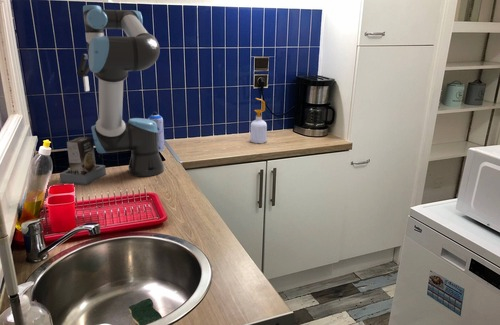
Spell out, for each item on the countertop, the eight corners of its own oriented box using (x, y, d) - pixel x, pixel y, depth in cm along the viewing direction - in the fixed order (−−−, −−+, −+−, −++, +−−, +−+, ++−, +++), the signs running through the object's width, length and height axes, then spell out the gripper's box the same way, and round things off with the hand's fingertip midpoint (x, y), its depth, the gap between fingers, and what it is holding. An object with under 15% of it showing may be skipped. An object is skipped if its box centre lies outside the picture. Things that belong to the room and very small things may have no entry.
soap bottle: (248, 140, 235) (248, 97, 227) (263, 139, 238) (264, 96, 230) (253, 144, 227) (253, 99, 219) (268, 142, 229) (269, 99, 222)
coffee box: (84, 181, 166) (80, 142, 161) (70, 179, 168) (65, 141, 163) (97, 173, 175) (93, 137, 170) (83, 172, 176) (79, 136, 171)
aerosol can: (147, 149, 215) (144, 111, 209) (161, 146, 219) (158, 110, 213) (153, 152, 209) (150, 114, 203) (167, 150, 213) (165, 112, 207)
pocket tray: (106, 174, 177) (105, 164, 176) (87, 185, 164) (85, 175, 162) (81, 172, 179) (80, 162, 178) (60, 182, 166) (59, 172, 165)
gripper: (125, 43, 180) (129, 91, 187) (75, 42, 185) (81, 89, 192) (117, 43, 173) (121, 93, 180) (65, 42, 178) (71, 91, 185)
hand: (100, 91), depth 186 cm, fingers open, 13 cm apart
